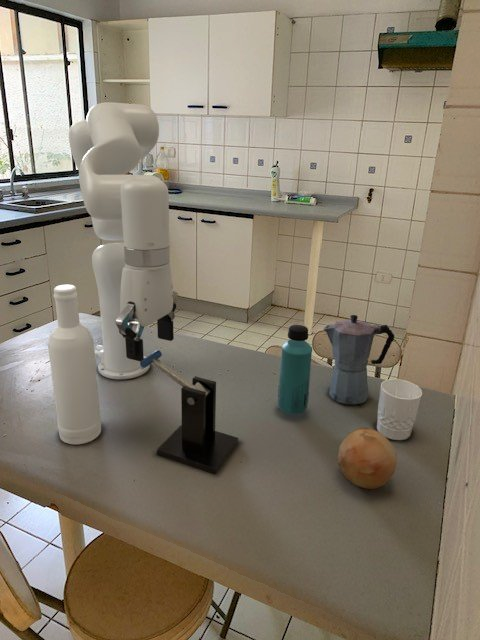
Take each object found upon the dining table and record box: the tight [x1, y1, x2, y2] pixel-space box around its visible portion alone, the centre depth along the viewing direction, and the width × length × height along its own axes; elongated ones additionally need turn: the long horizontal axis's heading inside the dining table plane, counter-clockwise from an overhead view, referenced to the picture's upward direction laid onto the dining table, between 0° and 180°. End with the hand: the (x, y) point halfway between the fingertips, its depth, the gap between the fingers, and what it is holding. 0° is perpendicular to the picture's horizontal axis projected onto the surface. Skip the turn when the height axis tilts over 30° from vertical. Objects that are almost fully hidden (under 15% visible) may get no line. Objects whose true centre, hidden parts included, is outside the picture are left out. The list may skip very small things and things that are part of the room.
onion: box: [337, 426, 398, 490], centre depth 79 cm, size 10×10×10 cm
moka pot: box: [322, 314, 395, 405], centre depth 104 cm, size 10×15×20 cm, turn 88°
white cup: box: [376, 378, 423, 441], centre depth 93 cm, size 8×8×10 cm
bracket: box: [156, 376, 239, 475], centre depth 85 cm, size 12×10×14 cm
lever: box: [140, 349, 210, 398], centre depth 84 cm, size 13×5×2 cm, turn 67°
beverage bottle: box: [277, 324, 313, 415], centre depth 97 cm, size 6×7×20 cm
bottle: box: [47, 283, 102, 445], centre depth 85 cm, size 8×8×30 cm
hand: (151, 348), depth 84 cm, fingers open, 9 cm apart
